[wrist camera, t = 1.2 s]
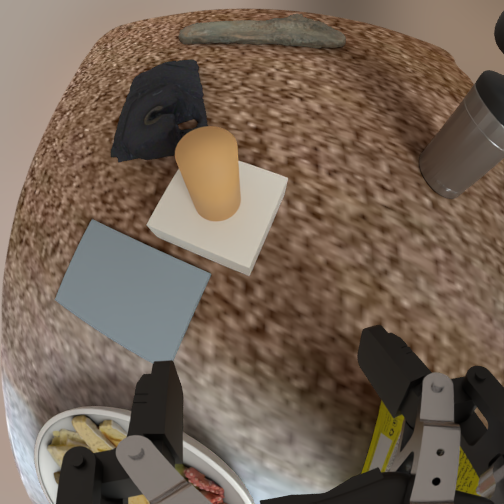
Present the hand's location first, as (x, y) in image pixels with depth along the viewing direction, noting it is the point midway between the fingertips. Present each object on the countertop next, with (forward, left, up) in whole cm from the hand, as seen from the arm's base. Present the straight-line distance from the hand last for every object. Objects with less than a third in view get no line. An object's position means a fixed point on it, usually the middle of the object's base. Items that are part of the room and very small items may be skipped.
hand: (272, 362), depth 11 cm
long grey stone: (-53, -21, -20) cm, 60 cm away
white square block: (-12, -10, -19) cm, 25 cm away
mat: (+1, -17, -19) cm, 26 cm away
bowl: (+27, -5, -20) cm, 34 cm away
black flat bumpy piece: (-26, -27, -20) cm, 43 cm away
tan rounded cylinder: (-12, -10, -15) cm, 22 cm away
